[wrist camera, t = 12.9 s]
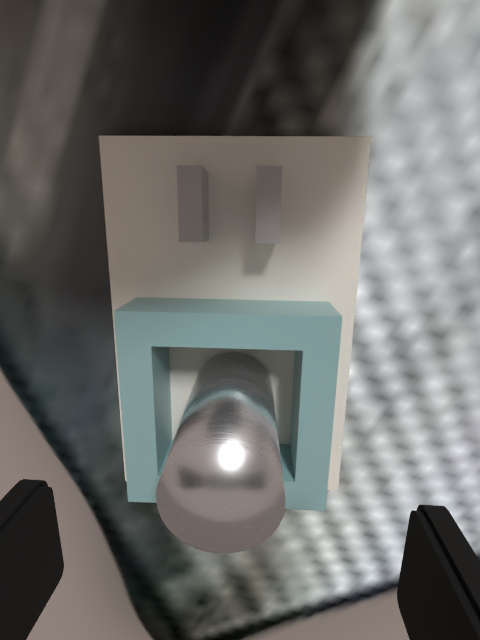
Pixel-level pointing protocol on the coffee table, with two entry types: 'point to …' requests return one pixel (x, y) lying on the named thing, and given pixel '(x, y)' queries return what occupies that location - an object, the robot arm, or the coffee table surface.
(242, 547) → the shiny grey cylinder
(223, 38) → the coffee table surface
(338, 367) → the end holder
